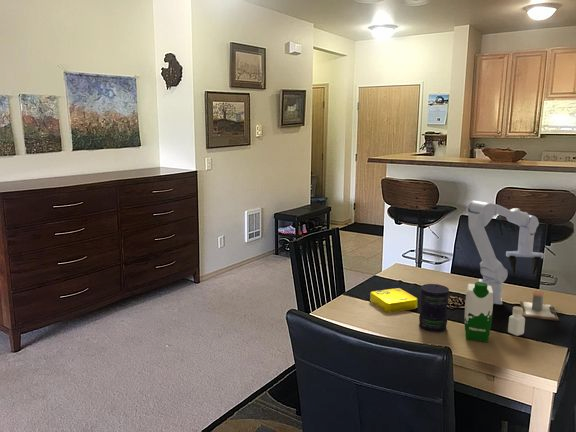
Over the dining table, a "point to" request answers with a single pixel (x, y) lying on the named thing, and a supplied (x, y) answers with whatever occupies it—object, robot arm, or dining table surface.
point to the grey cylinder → (537, 300)
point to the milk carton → (478, 311)
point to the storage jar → (433, 308)
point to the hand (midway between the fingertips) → (522, 273)
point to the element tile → (393, 300)
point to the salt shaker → (516, 322)
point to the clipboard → (545, 313)
